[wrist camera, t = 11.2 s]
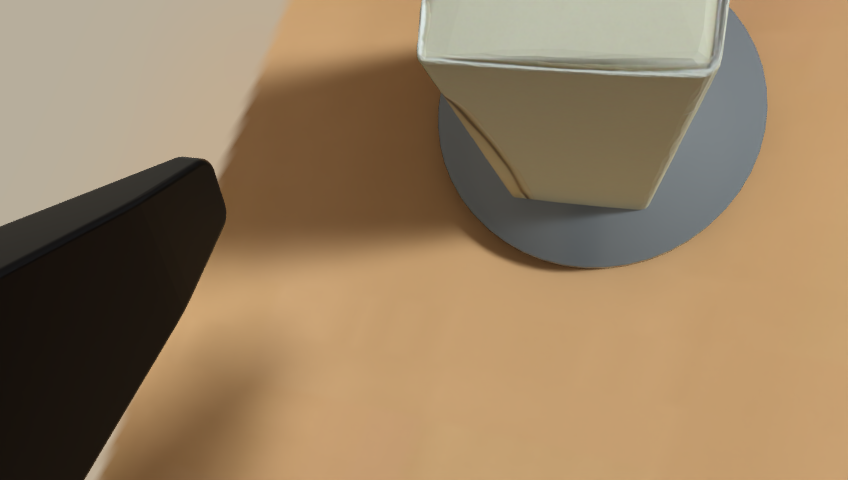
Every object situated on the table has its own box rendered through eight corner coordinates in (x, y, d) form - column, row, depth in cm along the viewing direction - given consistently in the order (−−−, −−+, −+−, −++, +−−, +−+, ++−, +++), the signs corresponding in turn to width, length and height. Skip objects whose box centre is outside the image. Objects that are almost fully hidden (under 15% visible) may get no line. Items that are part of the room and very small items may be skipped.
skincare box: (533, 17, 22) (454, -331, 10) (677, 19, 21) (769, -371, 9) (510, 206, 21) (397, 62, 10) (656, 220, 20) (725, 73, 9)
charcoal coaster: (580, 334, 21) (579, 334, 20) (387, 114, 24) (379, 107, 23) (837, 117, 20) (846, 108, 19) (605, -89, 23) (605, -103, 22)
